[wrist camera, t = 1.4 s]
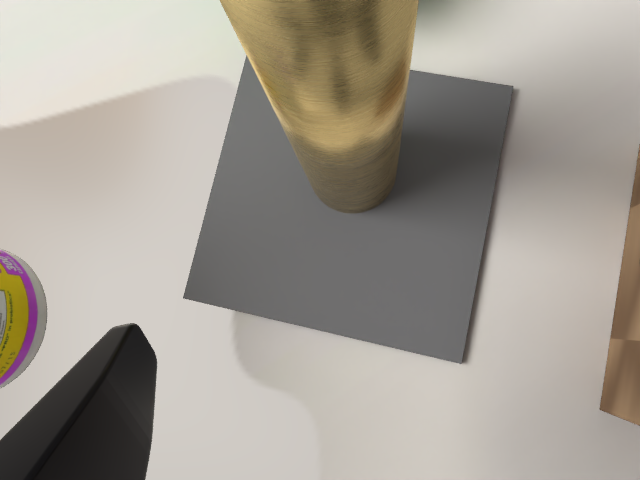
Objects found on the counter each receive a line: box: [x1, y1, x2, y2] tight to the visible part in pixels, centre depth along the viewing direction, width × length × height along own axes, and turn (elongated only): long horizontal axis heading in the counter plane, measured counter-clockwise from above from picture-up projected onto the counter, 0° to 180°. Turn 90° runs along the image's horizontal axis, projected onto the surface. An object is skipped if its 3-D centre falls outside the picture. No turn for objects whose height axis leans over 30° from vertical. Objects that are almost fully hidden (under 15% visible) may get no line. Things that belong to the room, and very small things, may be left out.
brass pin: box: [220, 0, 419, 213], centre depth 15 cm, size 4×4×15 cm
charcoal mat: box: [183, 55, 513, 364], centre depth 22 cm, size 12×12×1 cm
